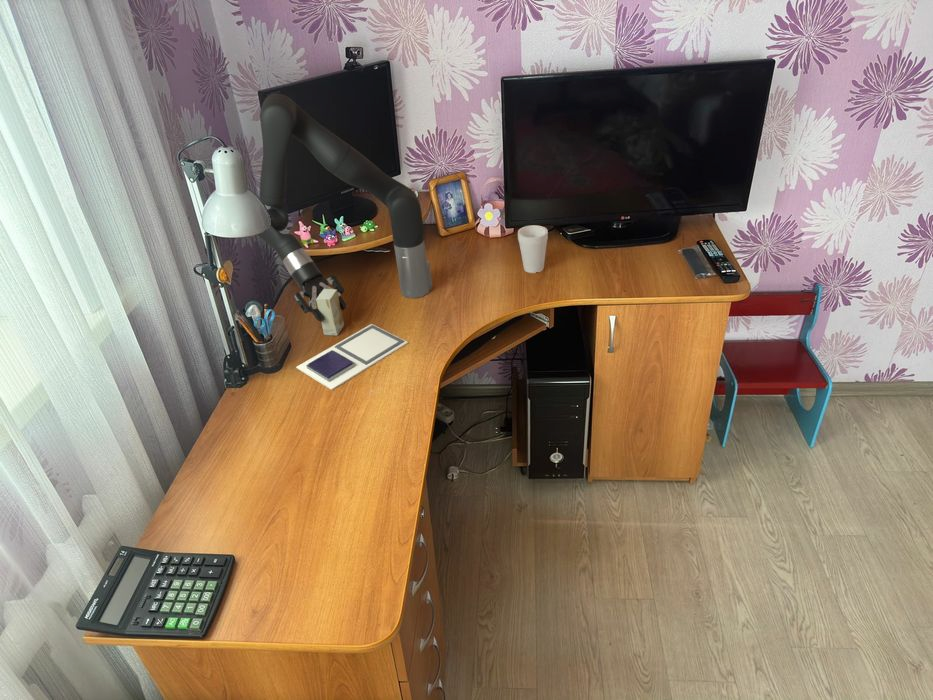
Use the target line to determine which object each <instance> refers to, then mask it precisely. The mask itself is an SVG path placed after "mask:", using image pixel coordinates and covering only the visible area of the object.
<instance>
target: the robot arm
mask: <svg viewBox="0 0 933 700" xmlns="http://www.w3.org/2000/svg"><path fill="white" fill-rule="evenodd" d="M259 111H260V112H259V120H260V129H261V137H262V161H261V162H262V163H261V170H260V178H259V179H260V181H259V195H258V196H259V200H261V201H262V202H261V201H260V202H261V204H263V205H264V206H267V207H269V208H267V209H266V210H267V211H268V213H269V215H270V218H271V225H270V227H269V228H268V229H267V230H265V231H264V232H263V233H260V234H258V235H257V236H258V237H259V238H260V239H262V241H263V242H265V244H267V245H268V246H269V247H270V248H271V249H273V250H274V251H275V252H276V254H277V256H278V257H279V259H280V260H281V261H282V263H283V265H284V267H285V269H286V271H288V274H289V275H290V276H291V277H292V279H293V280H294V282H295V284H296V285H297V287H298V288H299V289H300V290H301V291H300V292H298V291H297V292H295V294H294V296H293V299H294V300H295V302H296V303H297V304H298V306H299V308H300V309H301V310H302V311H303V313H304V314H308V313H312V315H313V316H314V318H315V319H316V320H317V321H318V322H320V323H321V322H323V321H324V320H325V318H324V317H323V315H322V314H321V312H320V311H319V309H318V307H317V301H316V299H317V297H318V296H319V294H320V293H321V292H322V290H323V289H337V293H338V297H339V302H340V307H341V312H343V311H345V310H346V309H347V303H346V301H345V299H343V297H342V295H343V294H344V292H345V289H344V287H343V286H342V284H341V283H340V281H339V280H338V278H337V277H336V276H335V275H334V274H332V275H330V277H328V278H325V277H324V276H323V274H322V272H321V271H320V269H319V267H318V266H317V265H316V263H315V261H314V260H313V259H312V258H311V256H310V254H309V253H308V252H307V251H306V250H305V249H304V247H303V246H302V245H301V243H300V241H299V240H298V239H297V238H296V236H295V235H294V234H292V233H281V232H283V231H284V230H285V229H286V228H287V227H288V225H289V222H290V221H289V220H290V218H289V214H288V212H289V211H288V207H287V202H286V192H287V191H286V190H287V178H288V177H287V174H288V173H287V171H288V170H287V159H288V158H287V157H288V149H289V144H290V141H291V137H293V138H294V139H297V140H298V141H299V142H300V143H301V144H302V145H304V146H305V147H306V148H307V150H308V151H309V152H310V154H311V155H312V156H314V158H315V159H316V160H317V161H318V163H319V164H321V166H322V167H324V169H326V171H328V172H330V173H331V174H332V175H333V176H335V177H337V178H338V179H339V180H341V181H342V182H344V183H346V184H347V185H350V186H353V187H355V188H358V189H360V190H362V191H366V192H368V193H369V194H371V195H372V196H374V197H375V198H376V199H377V200H379V201H380V202H381V203H382V204H383V205H384V206H386V208H387V209H388V213H389V220H390V226H391V233H392V242H393V248H394V255H395V261H396V262H395V263H396V267H397V274H398V279H399V280H398V281H399V286H400V292H401V295H402V296H403V297H406V298H409V299H416V298H421V297H425V296H426V295H428V294H429V293H430V292H431V289H433V280H432V274H431V273H432V272H431V265H430V260H428V259H427V253H426V246H425V238H424V234H425V233H424V223H423V214H422V213H423V212H422V208H421V203H420V201H419V198H418V195H417V194H416V192H415V191H414V190H413V189H412V188H410V187H409V186H407V185H405V184H403V183H401V182H400V181H398V180H396V179H394V178H393V177H392V176H390V175H388V174H387V173H385V172H383V170H382V169H380V168H379V167H378V166H377V165H376V164H375V163H373V162H372V161H371V160H370V159H368V157H366V156H365V155H363V154H362V153H361V152H360V151H358V150H357V149H355V148H354V147H353V146H352V145H350V144H349V143H347V142H346V141H344V140H343V139H341V138H340V137H339V136H338V135H336V134H335V133H333V132H331V130H329V129H327V128H326V127H324V126H323V125H322V124H320V123H319V122H318V121H316V120H315V119H314V118H313V117H312V116H310V115H309V113H307V112H306V111H305V110H304V109H302V108H301V106H300V105H298V104H297V103H296V102H295V101H294V100H293V99H292V98H290V97H288V96H287V95H285V94H281V93H272V94H270V95H268V96H266V97H265V99H264V100H263V103H262V104H261V108H260V110H259ZM329 285H330V286H332V287H333V288H332V287H330V286H329ZM305 297H307V298H308V303H307V301H306V300H305Z"/></svg>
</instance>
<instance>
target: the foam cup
mask: <svg viewBox="0 0 933 700" xmlns="http://www.w3.org/2000/svg"><path fill="white" fill-rule="evenodd" d="M548 231H549V230H548V229H547V227H545V226H541V225H538V224H537V225H535V224H533V225H525V226H523V227H521V228H519V229H518V230H517V241H518V244H519V248H520V253H521V259H522V265H523V270H524V271H525V272H527V273H529V274H535V273H536V272H538V273H540V272H542V271H544V267H545V260H546V259H545V258H546V251H547V245H548V244H547V243H548V236H549V235H548V234H549V233H548ZM536 274H537V273H536Z"/></svg>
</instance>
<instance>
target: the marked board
mask: <svg viewBox="0 0 933 700" xmlns="http://www.w3.org/2000/svg"><path fill="white" fill-rule="evenodd" d="M408 344H409V341H407V340H405V339H403V338H400V337H399V336H397V335H395V334H392V333H390V332H389V331H387V330H385V329H383V328H381V327H378V326H377V325H375V324H373V323H371V324H369V325H367V326H366V327H363V328H362V329H360V330H358V331H357V332H355V333H353V334H351V335H349V336H348V337H346V338H344V339H343V340H340V341H339V342H337V343H335V344H334V345H332V346H330V347H329V348H327V349H324V350H323V351H321V352H320V353H318V354H316V355H315V356H313V357H311V358H309V359H307V360H306V361H304V362H303V363H301V364H298V365H297V366H296V369H297V370H299V371H300V372H302V373H303V374H305V375H307V376H308V377H310V378H312V379H313V380H315V381H316V382H318V383H320V384H321V385H322V386H324V387H326V388H327V389H329V390H331V391H333V390H334V389H336V388H338V387H339V386H341V385H343V384H344V383H347V382H348V381H349V380H351V379H352V378H355V377H356V376H357V375H359V374H360V373H362V372H364V371H365V370H367V369H369V368H371V367H372V366H374V365H376V364H377V363H378V362H380V361H382V360H384V359H385V358H387V357H389V356H390V355H392V354H393V353H394V352H396V351H398V350H400V349H402V348H403V347H405V346H406V345H408ZM331 350H333V351H335V352H337V353H339V354H340V355H342V356H344V357H346V358H347V359H349V360H351V361H353V362H354V363H355V365H356V366H355V367H353V368H351V369H350V370H348V371H347V372H345V373H343V374H342V375H340V376H338V377H337V378H335V379H333V380H332V381H330V382H328V381H327V380H325V379H323V378H322V377H320V376H319V375H317V374H315V373H314V372H312V371H311V370H309V369H307V366H306V365H308V364H309V363H310V362H312V361H314V360H316V359H317V358H319V357H321V356H323V355H324V354H326V353H328V352H330V351H331ZM370 366H371V367H370Z"/></svg>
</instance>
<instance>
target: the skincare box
mask: <svg viewBox="0 0 933 700" xmlns="http://www.w3.org/2000/svg"><path fill="white" fill-rule="evenodd" d="M316 306H317V308H318V309H319V311H320V312H321V314H322V315H323V317H324V318H325V320H324V321H323V322H320V323H321V326H322V332H323V335H324V336H338V335H339V334H340V332H341V331H342V329H343V328H344V326H345V323H344V322H345V321H344V317H343V311H342V310H341V307H340V302H339V297H338V293H337V289H334V288H333V289H323V290H322V292H321V293H320V294H319V296H318V297H317V299H316Z"/></svg>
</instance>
